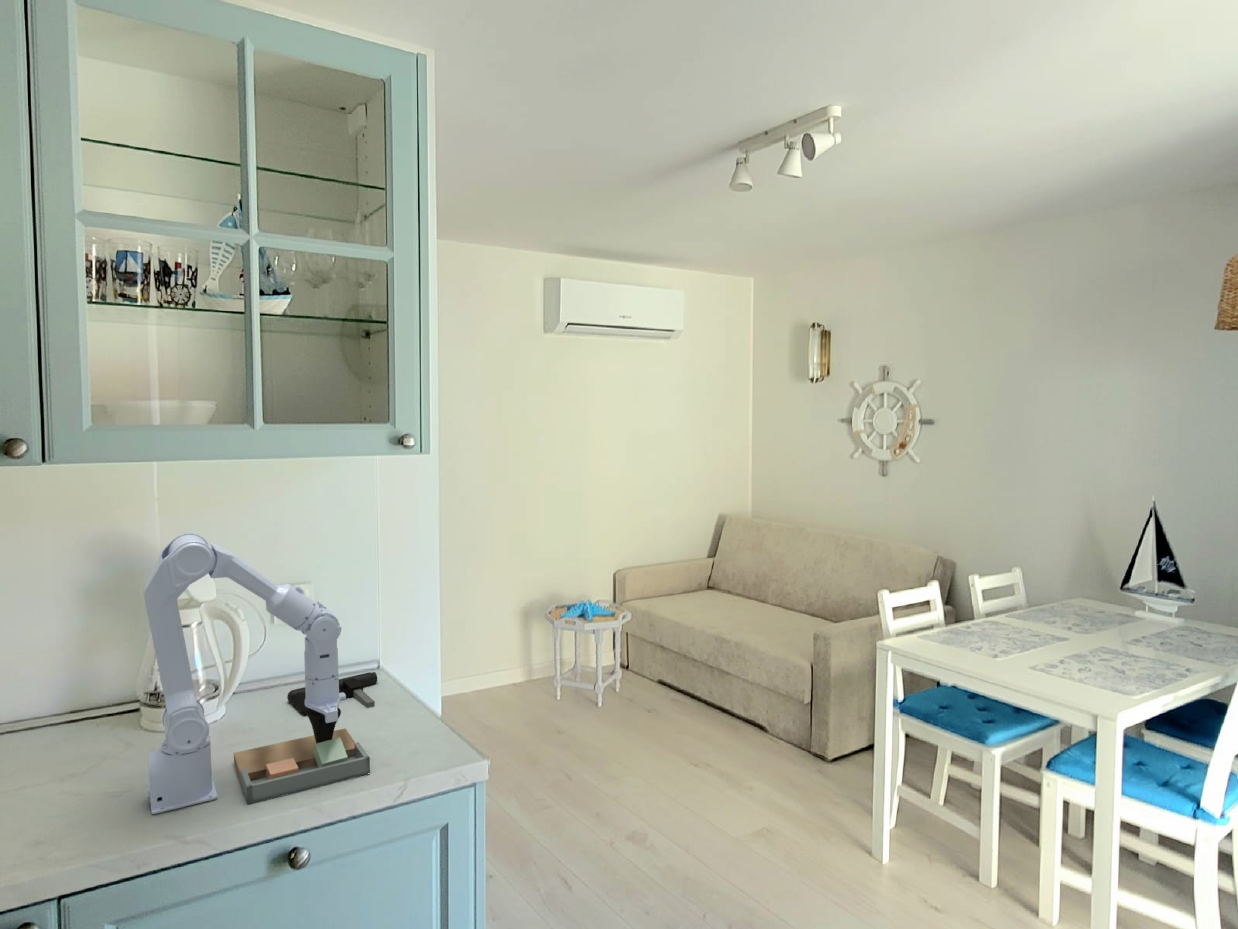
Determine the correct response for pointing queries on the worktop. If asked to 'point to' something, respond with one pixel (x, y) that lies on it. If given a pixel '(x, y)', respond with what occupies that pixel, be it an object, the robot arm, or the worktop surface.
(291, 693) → the door handle
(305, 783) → the tray
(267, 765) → the terracotta tile
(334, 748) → the sage tile
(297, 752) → the walnut board
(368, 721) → the worktop surface
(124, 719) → the worktop surface
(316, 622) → the robot arm
